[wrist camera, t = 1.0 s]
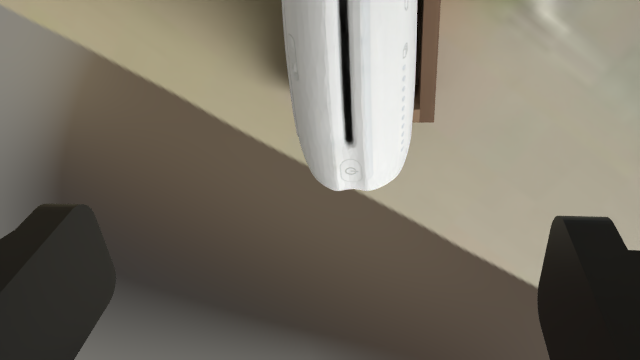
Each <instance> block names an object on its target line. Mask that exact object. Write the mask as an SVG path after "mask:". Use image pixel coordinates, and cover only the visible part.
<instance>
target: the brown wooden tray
mask: <svg viewBox="0 0 640 360" xmlns="http://www.w3.org/2000/svg"><path fill="white" fill-rule="evenodd" d="M440 3H441V0H421V24H420V51H419V79H418V85H415V93H414V109H413V120H412V122H434V110H435V92H436V74H437V57H438V39H439V21H440Z"/></svg>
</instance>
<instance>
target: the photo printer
mask: <svg viewBox="0 0 640 360" xmlns="http://www.w3.org/2000/svg"><path fill="white" fill-rule="evenodd" d="M282 15H283V29H284V40H285V52H286V61H287V70H288V78H289V86H290V95H291V101H292V108H293V115H294V120H295V126H296V132H297V135H298V137H299V140H300V144H301V148H302V151H303V154H304V157H305V159H306V162H307V164H308V166H309V168H310V170H311V172H312V174H313V175H314V177H315V178H316V179H317V180H318V181H319V182H320V183H322V184H323V185H324V186H326V187H328V188H330V189H331V190H335V191H341V190H346V189H359V190H364V191H370V190H375V189H377V188H380V187H382V186H384V185H386V184H387V183H389V182H390V181H392V180H393V179H394V178H395V177H396V176H397V175H398V174H399V173H400V171H401V169H402V167H403V165H404V162H405V159H406V156H407V153H408V149H409V145H410V139H411V131H412V120H413V109H414V93H415V73H416V42H417V0H282Z"/></svg>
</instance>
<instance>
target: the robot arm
mask: <svg viewBox="0 0 640 360" xmlns="http://www.w3.org/2000/svg"><path fill="white" fill-rule="evenodd" d="M115 283H116V273H115V268H114V265H113V262H112V259H111V257H110V254H109V251H108V249H107V246H106V244H105V241H104V238H103V236H102V233H101V230H100V227H99V225H98V222H97V220H96V217H95V215H94V212H93V211H92V209H91V208H90V207H89V206H87V205H84V204H43V205H40V206H38V207H37V208H36V209H35V210H34V211H33V212H32V213H31V214H30V215H29V216H28V217H27V218H26V219H25V220H24V221H23V222H22V223H21V224H20V226H19V227H18V228H17V229H16V230H15V231H13V232H11V233H9V234H8V235H6V236H5V237H3V238H2V239H0V360H74V359H75V357H76V356H77V354H78V352H79V351H80V349H81V348H82V346H83V344H84V343H85V341H86V339H87V338H88V336H89V334H90V333H91V331H92V330H93V328H94V327H95V325H96V323H97V321H98V320H99V318H100V317H101V315H102V313H103V312H104V310H105V309H106V307H107V305H108V304H109V302H110V300H111V298H112V296H113V293H114V289H115ZM538 314H539V321H540V325H541V329H542V332H543V336H544V340H545V343H546V347H547V351H548V354H549V358H550V360H640V251H637V250H628V249H627V247H626V246H625V244H624V242H623V240H622V238H621V236H620V234H619V232H618V231H617V229H616V227H615V225H614V223H613V222H612V220H611V219H610V218H608V217H584V216H556V217H555V218H554V220H553V222H552V225H551V229H550V234H549V239H548V243H547V248H546V253H545V257H544V262H543V267H542V272H541V276H540V281H539V286H538Z"/></svg>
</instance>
